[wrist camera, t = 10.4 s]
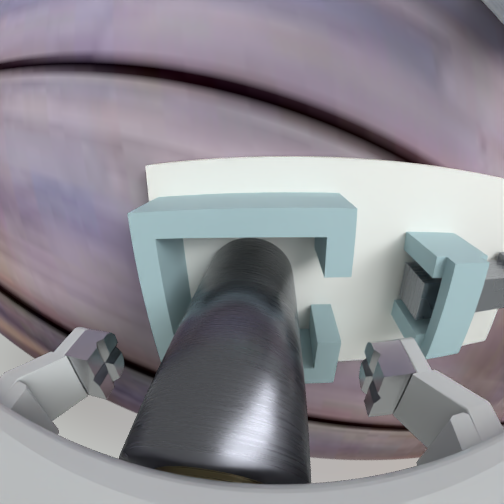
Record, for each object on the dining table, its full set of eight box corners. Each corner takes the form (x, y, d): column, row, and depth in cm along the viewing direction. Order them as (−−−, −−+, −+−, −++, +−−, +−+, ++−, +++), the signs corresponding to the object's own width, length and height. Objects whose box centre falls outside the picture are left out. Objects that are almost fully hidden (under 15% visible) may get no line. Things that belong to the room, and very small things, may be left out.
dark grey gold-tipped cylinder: (294, 237, 13) (333, 547, 2) (291, 313, 14) (299, 562, 3) (205, 238, 13) (53, 491, 2) (213, 312, 14) (139, 541, 4)
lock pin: (508, 252, 11) (536, 271, 9) (497, 290, 12) (521, 313, 10) (405, 252, 12) (430, 279, 10) (396, 300, 13) (416, 332, 10)
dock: (516, 181, 11) (568, 200, 6) (479, 332, 15) (509, 373, 10) (154, 164, 13) (99, 177, 8) (182, 347, 17) (158, 404, 12)
